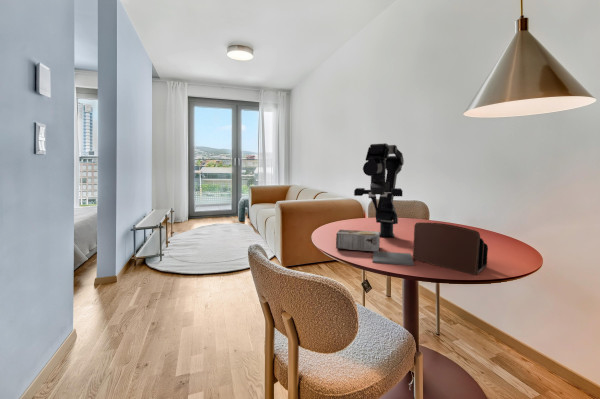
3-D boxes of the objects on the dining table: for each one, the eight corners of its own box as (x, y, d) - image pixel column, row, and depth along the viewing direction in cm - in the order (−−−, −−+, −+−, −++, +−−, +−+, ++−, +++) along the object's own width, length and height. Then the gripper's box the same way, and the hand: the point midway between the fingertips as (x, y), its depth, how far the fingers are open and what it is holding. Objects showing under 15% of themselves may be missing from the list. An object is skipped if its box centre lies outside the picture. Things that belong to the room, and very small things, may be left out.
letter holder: (476, 276, 83) (479, 229, 81) (412, 260, 98) (413, 220, 96) (487, 267, 89) (490, 224, 88) (425, 253, 104) (426, 216, 102)
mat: (373, 252, 106) (373, 251, 106) (410, 255, 102) (410, 253, 102) (372, 262, 95) (372, 260, 95) (413, 265, 92) (413, 263, 92)
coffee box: (379, 247, 113) (340, 244, 118) (380, 231, 113) (340, 229, 118) (378, 252, 104) (335, 248, 109) (378, 235, 104) (335, 232, 109)
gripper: (352, 176, 109) (352, 215, 111) (404, 175, 104) (402, 217, 106) (355, 174, 120) (355, 211, 122) (402, 174, 115) (401, 212, 117)
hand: (377, 212), depth 116 cm, fingers closed
